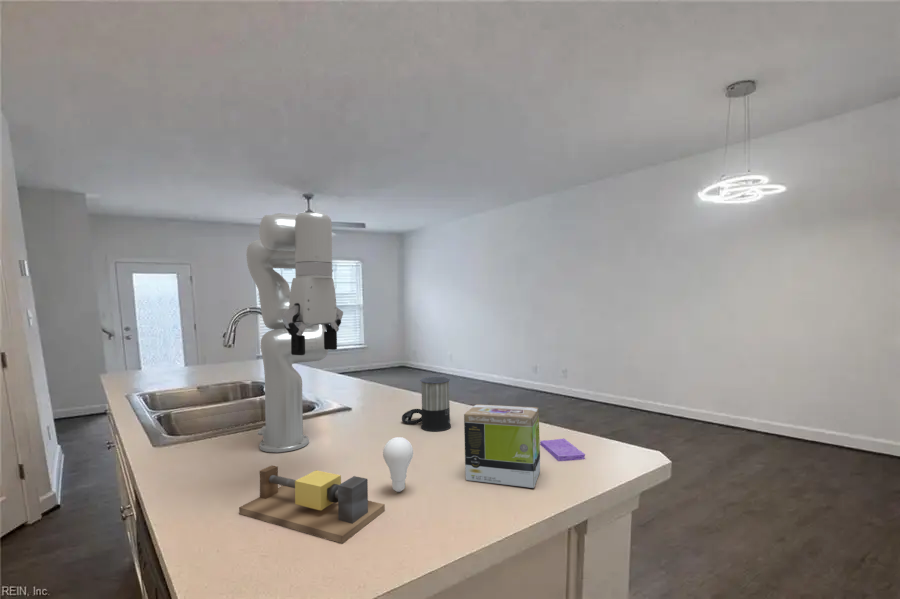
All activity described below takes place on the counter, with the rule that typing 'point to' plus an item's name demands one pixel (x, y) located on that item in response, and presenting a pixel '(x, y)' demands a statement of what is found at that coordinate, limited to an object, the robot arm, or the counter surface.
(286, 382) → the robot arm
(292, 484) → the cable rail
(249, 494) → the counter surface
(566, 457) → the sponges
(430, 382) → the milk frother
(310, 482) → the sleeve
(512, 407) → the tea box
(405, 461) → the lightbulb
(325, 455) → the counter surface
